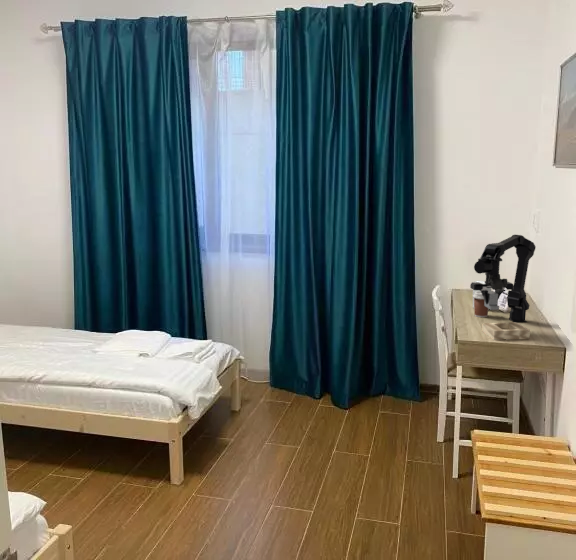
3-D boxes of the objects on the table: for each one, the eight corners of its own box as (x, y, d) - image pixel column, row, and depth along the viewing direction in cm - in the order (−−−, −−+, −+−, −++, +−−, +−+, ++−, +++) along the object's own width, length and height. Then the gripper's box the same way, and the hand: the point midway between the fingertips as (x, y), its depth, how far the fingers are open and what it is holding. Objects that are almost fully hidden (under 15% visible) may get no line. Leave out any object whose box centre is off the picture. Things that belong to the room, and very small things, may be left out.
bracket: (492, 305, 291) (493, 291, 290) (499, 309, 283) (499, 294, 282) (484, 305, 291) (485, 291, 289) (490, 309, 283) (491, 294, 282)
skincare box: (491, 309, 327) (492, 282, 324) (484, 311, 323) (485, 283, 321) (478, 306, 333) (480, 279, 331) (471, 308, 330) (472, 281, 328)
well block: (515, 330, 284) (516, 322, 283) (529, 338, 270) (529, 330, 270) (481, 331, 283) (482, 323, 282) (493, 339, 269) (494, 331, 269)
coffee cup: (494, 316, 310) (495, 293, 308) (478, 318, 308) (479, 295, 305) (483, 313, 319) (484, 290, 317) (468, 314, 316) (469, 291, 314)
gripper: (479, 274, 276) (477, 308, 279) (519, 273, 277) (517, 307, 280) (470, 270, 287) (469, 302, 290) (509, 269, 288) (507, 302, 291)
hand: (490, 303), depth 288 cm, fingers closed on bracket, 4 cm apart
